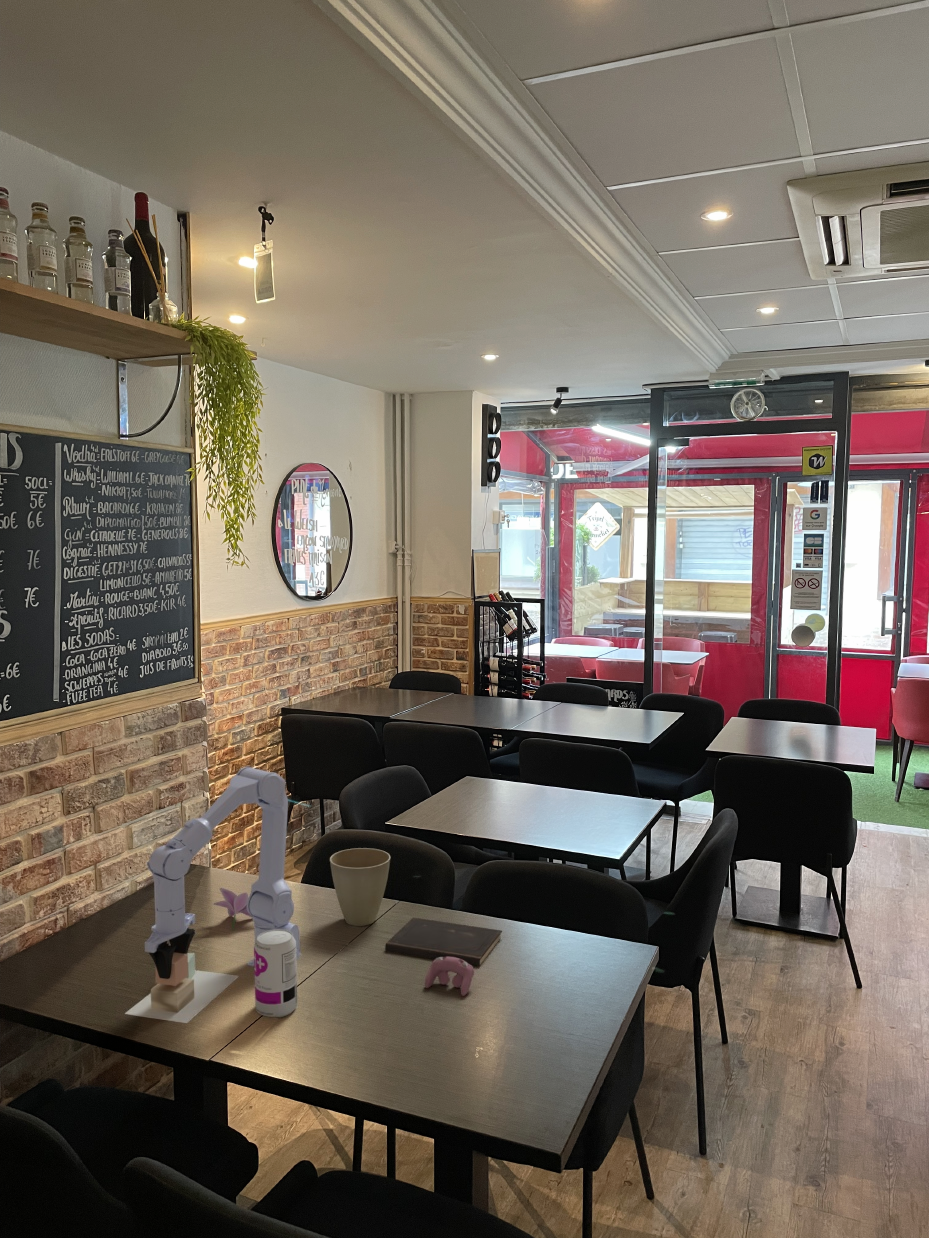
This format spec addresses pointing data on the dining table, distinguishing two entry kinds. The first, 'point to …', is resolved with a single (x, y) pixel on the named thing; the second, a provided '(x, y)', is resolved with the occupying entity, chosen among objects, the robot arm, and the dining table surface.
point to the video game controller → (450, 964)
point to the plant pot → (360, 883)
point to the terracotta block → (175, 970)
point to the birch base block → (172, 996)
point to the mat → (204, 993)
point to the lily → (234, 903)
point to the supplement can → (275, 973)
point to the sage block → (191, 965)
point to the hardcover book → (444, 940)
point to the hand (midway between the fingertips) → (172, 971)
